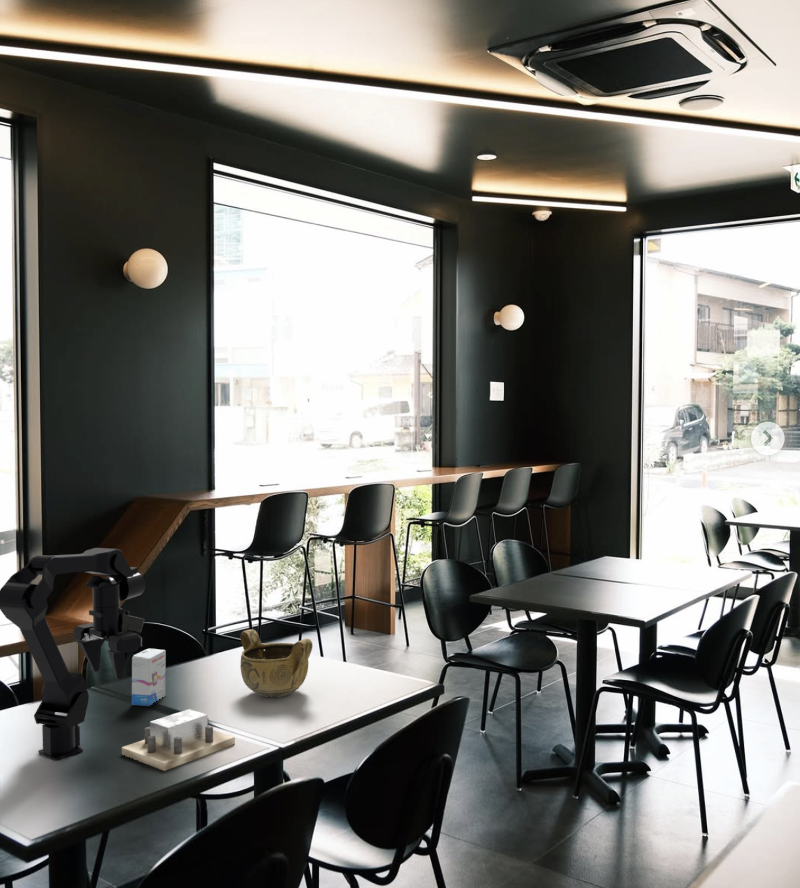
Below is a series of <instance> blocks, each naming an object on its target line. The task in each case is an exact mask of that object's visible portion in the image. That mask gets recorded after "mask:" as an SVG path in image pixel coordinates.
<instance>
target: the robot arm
mask: <svg viewBox="0 0 800 888" xmlns="http://www.w3.org/2000/svg"><path fill="white" fill-rule="evenodd" d="M122 552H123V551H122V550H121V549H119V548H108V547H107V548H106V547H105V548H104V547H103V548H102V547H94V548H91V549H87V550H85V551H84V552H82V553H76V554H59V555H58V554H57V555H41V554H38V555H35V556H33V557H31V558H30V560H29V561H28V562H27V564H26V565H25V566H24V567H22V568H21V569H19V570H18V571H16V572H15V573H14V574H12V575H11V576H9V578H8V580H7V581H6V582H5V583H4V584H3V586H2V587H1V588H0V611H1V613H2V614H3V615H4V617H5V618H6V619H7V620H9V622H11V623H12V624H13V625H15V626H16V627H18V628H19V630H20V633H21V634H22V637H23V640H24V641H25V643H26V645H27V647H28V650H29V651H30V654H31V656H32V658H33V660H34V662H35V665H36V666H37V669H38V671H39V674H40V675H41V678H42V679H43V681H44V682H43V685H42V690H41V696H42V700H41V702H40V704H39V706H38V707H37V708H36V711H35V713H34V714H33V718H34V721H35V723H36V725H42V726H41V727H42V730H41V731H42V735H41V736H42V749H39V750H38V754H39V755H42V756H44V757H47V758H48V759H50V760H55V761H56V760H59V759H63V758H66V757H68V756H71V755H74V754H77V753H81V752H83V751H84V748H83V747H81V726H80V724H82V723H84V722H85V719H86V714H87V709H88V704H89V700H90V695H89V692H88V689H89V688H90V687H89V686H88V685H87V684H86V681H85V678H84V675H83V673H80V672H72V671H69V669H68V667H67V665H66V662H65V659H64V658H63V656H62V654H61V651H60V649H59V647H58V644H57V642H56V640H55V637H54V636H53V634H52V631H51V629H50V626H49V624H48V622H47V620H46V618H45V617H46V614H47V610H48V605H49V604H48V602H47V599H48V598H49V596H50V594H51V593H52V592H53V590H54V581H55V580H54V579H55V578H56V577H57V575H65V574H74V573H75V574H78V573H87V574H92V577H91V578H90V580H88V581H87V582H86V584H85V588H89V589H92V609H90V610H89V609H88V615H89V616H92V622H89V623H85V624H80V625H76V626H75V628H74V629H73V631H72V632H73V633H72V637H73V640H75V641H76V644H78V646H79V647H80V649H81V650H82V652H83V654H84V656H85V657H86V659H87V661H88V663H89V665H90V666H91V669H92V671H93V672H94V673H96V672H99V671H100V667H101V666H100V665H101V653H102V646H103V644H104V642H107V646H108V650H107V653H108V656H109V659H110V662H111V666H112V670H113V673H114V676H115V678H116V680H120V679H121V680H122V679H123V677H124V676H123V675H124V673H125V669H126V667H127V663H128V660H129V658H130V657H131V655H132V654H133V652H135V651H137V650H138V649H139V648H141V647H143V637H142V636H141V635H140V634H141V633H142V630H143V627H144V623H145V620H146V619H145V618H141V617H138V616H133V615H130V611H129V610H125V608H123V607H121V602H122V601H126V600H129V599H132V598H135V597H139V596H141V595H142V594H143V593H144V592H145V589H146V585H147V584H146V581H145V579H144V576H143V575H142V574H141V573H139V572H138V571H139V569H138V567H132V566H130V565H129V564H128V563H129V562H127V560H126V557H125V556H124V554H123V553H122ZM94 574H95V575H94ZM97 575H99V576H97ZM38 576H41V579H40V580H39V582H38V583H37V584H35V583H31V582H32V581H33V582H34V580H36V579H37V577H38ZM133 631H134V632H133ZM139 633H140V634H139ZM56 713H58V714H56ZM59 713H61V714H66V715H61V714H59Z"/></svg>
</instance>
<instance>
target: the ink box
mask: <svg viewBox="0 0 800 888" xmlns="http://www.w3.org/2000/svg"><path fill="white" fill-rule="evenodd" d="M166 656H167V654H166V650H165V649H157V648H147V649H144V650H142V651H140V652H138V653H136V654H133V656H132V657H131V705H132V706H143V707H151V706H152V705H154V704H155V703H157V702H159V701H160V700H161V699H163V698H164V697H166V659H167V658H166ZM162 697H163V698H162ZM159 699H160V700H159ZM156 701H157V702H156ZM154 702H155V703H154ZM153 703H154V704H153ZM150 705H151V706H150Z"/></svg>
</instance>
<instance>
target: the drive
mask: <svg viewBox="0 0 800 888" xmlns="http://www.w3.org/2000/svg"><path fill="white" fill-rule="evenodd" d="M207 718H208V714H206V713H203V712H200V711H197V710H193V709H190V708H188V709H185V710H183V711H179V712H176V713H172V714H169V715H166V716H163V717H160V718H158V719H155V720H151V721H149V727H150V736H156V748H158V749H160V750H163V751H166V752H171V751H174V738H175V737H182V747H185V746H188V745H190V744H193V743H196V742H199V741H202V740H204V739H205V727H207V726H208V723H207Z"/></svg>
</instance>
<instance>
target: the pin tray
mask: <svg viewBox="0 0 800 888" xmlns="http://www.w3.org/2000/svg"><path fill="white" fill-rule="evenodd" d="M209 721H210V719H209V718H208V717H207V723H208V726H207V727H205V739H204V740H202V741H199V742H196V743H193V744H190V745H188V746H185V747H182V737H175V738H174V751H171V752H166V751H163V750H160V749H158V748H156V736H150V726H147V727H144V739H142V740H139V741H136V742H133V743H131V744H127V745H124V746H122V747H121V755H122V756H124V755H125V757H127V758H129V757H130V759H132V758H133V759H132V760H135V761H137V760H138V761H137V762H140V763H142V764H143V763H144V765H145V764H146V765H148V766H151V767H153V768H155V769H157V770H158V769H159V770H161V771H164V772H165V771H168V770H171V769H173V768H176V767H179V766H181V765H184V764H187V763H189V762H192V761H195V760H197V759H200V758H202V757H205V756H207V755H209V754H212V753H214V752H217V751H221V750H223V749H225V748H228V747H231V746H233V744H234V745H236V739H235V738H236V737H235V736H233V735H230V734H226V733H224V732H220V731H219V730H218V731H217V730H214V726H212V725H209V723H210V722H209ZM230 745H231V746H230Z"/></svg>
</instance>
